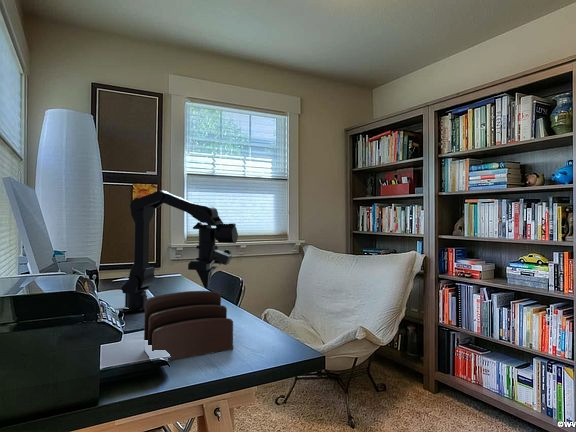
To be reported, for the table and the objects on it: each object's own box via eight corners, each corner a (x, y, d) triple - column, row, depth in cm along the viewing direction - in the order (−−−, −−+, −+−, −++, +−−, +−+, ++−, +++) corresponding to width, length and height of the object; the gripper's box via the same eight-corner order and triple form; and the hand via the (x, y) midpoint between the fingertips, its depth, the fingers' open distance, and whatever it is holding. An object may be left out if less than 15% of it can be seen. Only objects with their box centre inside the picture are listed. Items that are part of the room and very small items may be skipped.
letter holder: (143, 351, 92) (144, 294, 93) (219, 339, 103) (220, 287, 103) (151, 365, 84) (152, 302, 84) (233, 350, 94) (234, 294, 94)
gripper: (221, 244, 119) (220, 294, 119) (236, 241, 137) (236, 284, 137) (187, 244, 120) (186, 292, 120) (207, 240, 139) (206, 282, 139)
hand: (206, 287), depth 129 cm, fingers closed
